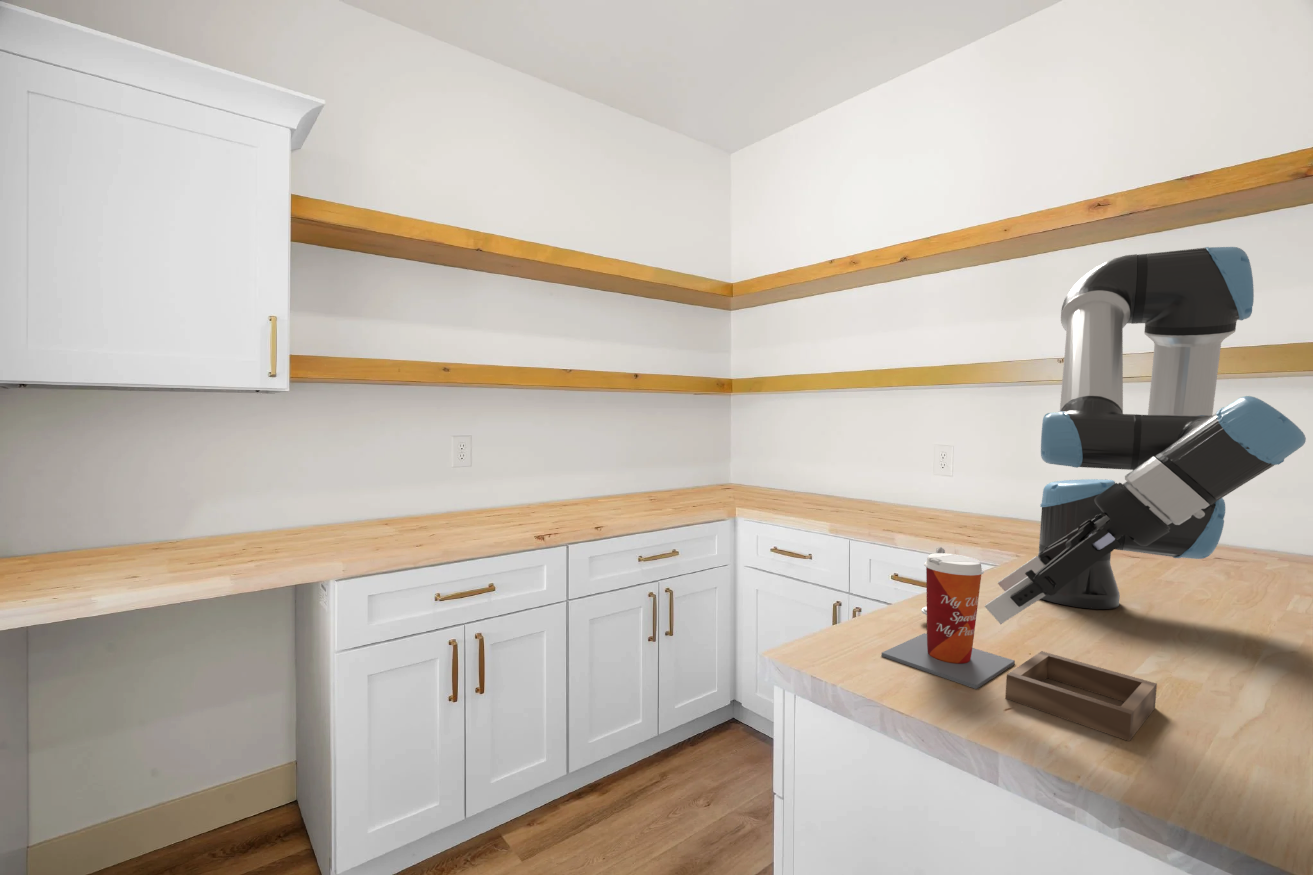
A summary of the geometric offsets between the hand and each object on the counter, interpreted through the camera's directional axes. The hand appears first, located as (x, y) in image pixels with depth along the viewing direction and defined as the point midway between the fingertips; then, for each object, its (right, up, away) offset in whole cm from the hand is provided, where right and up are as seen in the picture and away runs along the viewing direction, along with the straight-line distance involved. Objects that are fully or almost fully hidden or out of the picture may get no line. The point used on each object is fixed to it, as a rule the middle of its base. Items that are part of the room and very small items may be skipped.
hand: (998, 601), depth 83 cm
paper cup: (-5, -9, +4) cm, 11 cm away
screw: (0, -9, +19) cm, 21 cm away
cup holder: (+5, -10, -8) cm, 14 cm away
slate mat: (-5, -9, +4) cm, 11 cm away
